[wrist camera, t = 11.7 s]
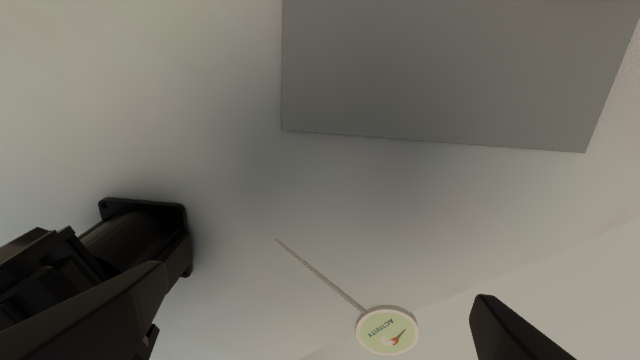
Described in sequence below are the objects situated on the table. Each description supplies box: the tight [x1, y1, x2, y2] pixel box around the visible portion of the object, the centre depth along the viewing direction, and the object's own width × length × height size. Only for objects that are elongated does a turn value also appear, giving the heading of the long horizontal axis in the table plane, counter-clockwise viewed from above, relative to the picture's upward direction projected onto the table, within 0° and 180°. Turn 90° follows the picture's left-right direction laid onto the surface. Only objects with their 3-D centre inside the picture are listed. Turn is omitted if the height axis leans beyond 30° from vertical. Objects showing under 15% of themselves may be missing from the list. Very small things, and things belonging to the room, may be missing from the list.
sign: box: [276, 239, 419, 356], centre depth 26 cm, size 5×1×15 cm
